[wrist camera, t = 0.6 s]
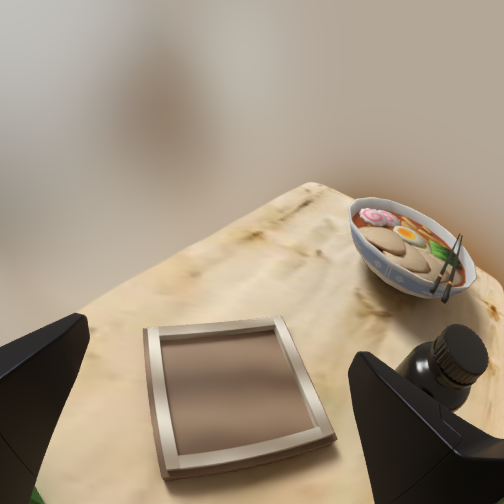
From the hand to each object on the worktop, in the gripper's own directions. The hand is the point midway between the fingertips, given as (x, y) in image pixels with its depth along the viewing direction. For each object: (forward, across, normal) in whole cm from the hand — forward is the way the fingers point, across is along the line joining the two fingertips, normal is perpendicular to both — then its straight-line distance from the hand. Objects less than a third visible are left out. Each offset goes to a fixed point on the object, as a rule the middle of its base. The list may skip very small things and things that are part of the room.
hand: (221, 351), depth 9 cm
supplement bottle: (+8, -17, +15) cm, 24 cm away
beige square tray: (+10, -2, +14) cm, 18 cm away
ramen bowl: (+31, -27, +8) cm, 42 cm away
